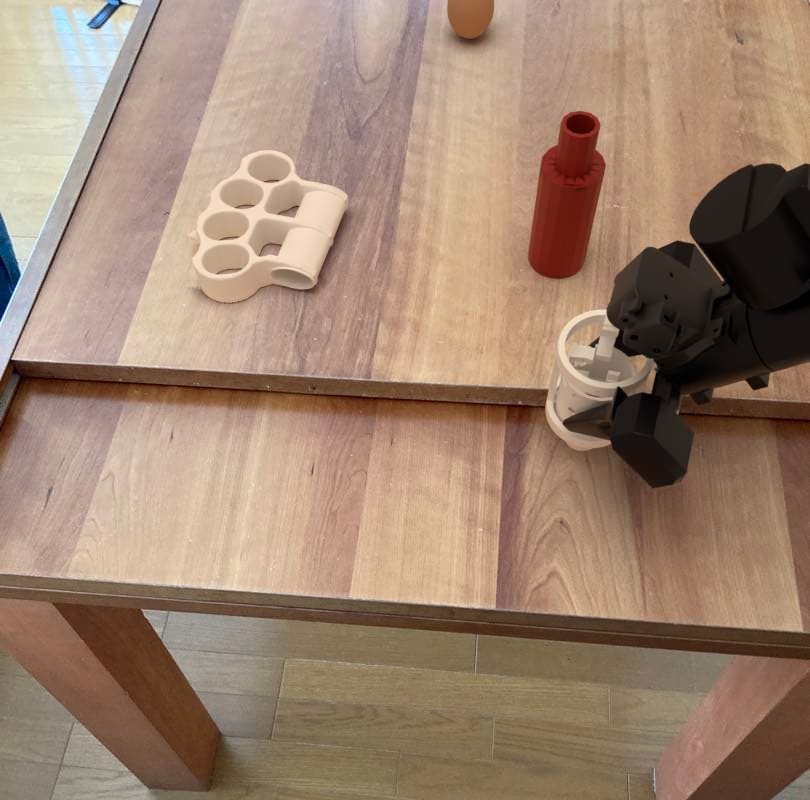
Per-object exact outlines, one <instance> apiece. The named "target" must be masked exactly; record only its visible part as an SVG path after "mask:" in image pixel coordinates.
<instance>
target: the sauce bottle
mask: <svg viewBox="0 0 810 800" xmlns="http://www.w3.org/2000/svg"><path fill="white" fill-rule="evenodd" d="M561 119H562V120H561V122H560V127H559V132H558V139H557V144H556V145H554V146H552V147H550V148H548V149H547V151H546V152H545V153H544V154H543V155H542V157H541V161H540V167H539V175H538V182H537V188H536V195H535V201H534V210H533V215H532V216H533V217H532V222H531V223H532V225H531V231H530V238H529V245H528V255H527V257H528V263H529V265H530V267H532V268H533V270H534V269H535V270H534V271H535V272H536V273H538V274H540V275H541V274H542V275H541V276H544V277H546V276H547V277H546V278H550V277H551V278H550V279H565V278H568V277H567V276H569V277H571V275H572V276H574V275H575V274H577V273H578V272H579V271H580V270H581V269H582V268H583V266H584V264H585V261H586V257H587V252H588V248H589V243H590V239H591V234H592V229H593V225H594V222H595V217H596V213H597V208H598V203H599V199H600V195H601V191H602V185H603V182H604V177H605V172H606V167H607V165H606V162H605V161H606V160H605V158H604V156H603V155H602V154H601V153H600V152H599V151H598V150H597V149H596V148H597V145H598V140H599V136H600V130H601V126H602V125H601V122H600V120H599V117H597V116H596V115H594V114H593V113H592V112H588V111H584V110H577V111H571V112H569V113H567V114H566V115H564V116H563V117H562V118H561ZM581 267H582V268H581ZM577 271H578V272H577ZM576 272H577V273H576ZM573 274H574V275H573ZM564 277H565V278H564Z"/></svg>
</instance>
